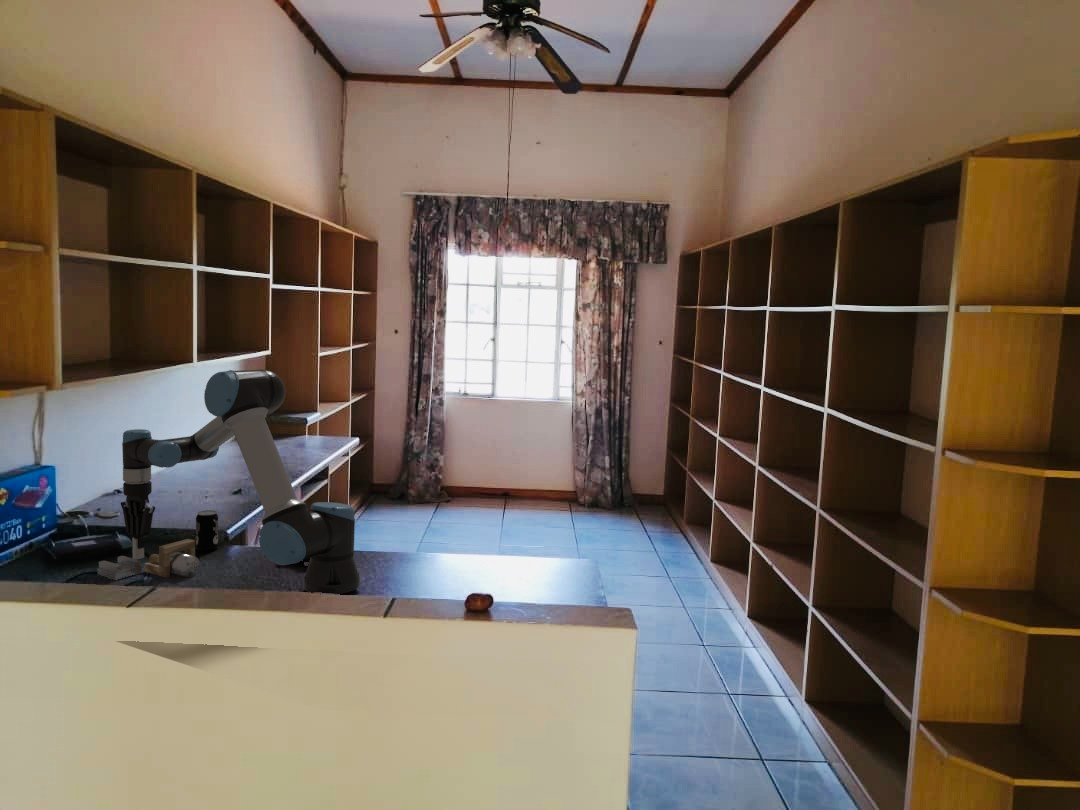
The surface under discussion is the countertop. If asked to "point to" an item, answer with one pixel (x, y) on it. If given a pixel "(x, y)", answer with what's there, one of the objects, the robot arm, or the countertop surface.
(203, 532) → the beverage can
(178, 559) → the grey rounded piece
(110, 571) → the v block
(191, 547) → the tan wooden angular frame
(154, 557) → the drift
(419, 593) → the countertop surface
